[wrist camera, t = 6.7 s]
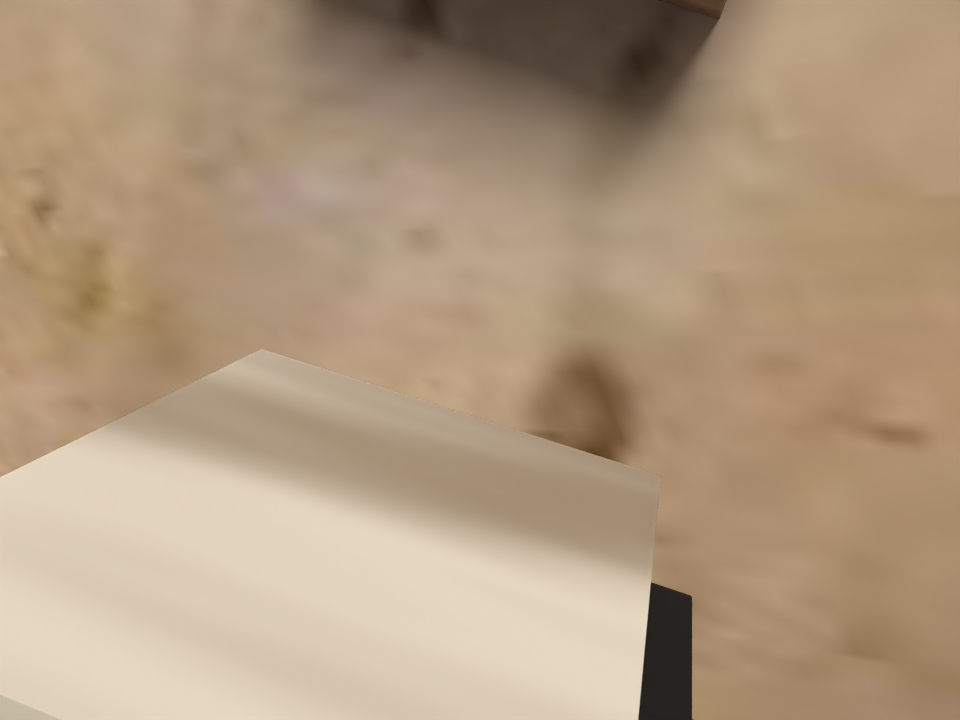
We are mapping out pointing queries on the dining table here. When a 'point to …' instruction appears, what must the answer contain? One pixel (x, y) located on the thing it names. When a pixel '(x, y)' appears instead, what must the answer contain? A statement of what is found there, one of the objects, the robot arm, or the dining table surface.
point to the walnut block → (701, 6)
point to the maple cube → (321, 563)
